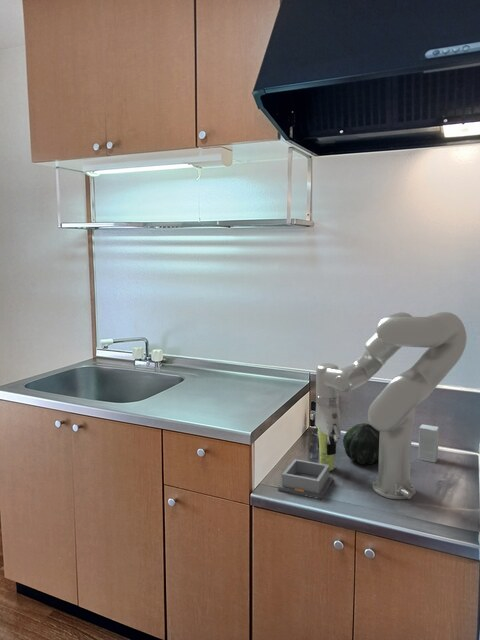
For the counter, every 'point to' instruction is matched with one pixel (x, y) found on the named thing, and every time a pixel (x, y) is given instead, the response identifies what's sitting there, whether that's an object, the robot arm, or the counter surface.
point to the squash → (362, 443)
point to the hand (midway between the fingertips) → (326, 450)
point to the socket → (306, 478)
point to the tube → (325, 450)
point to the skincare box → (428, 443)
